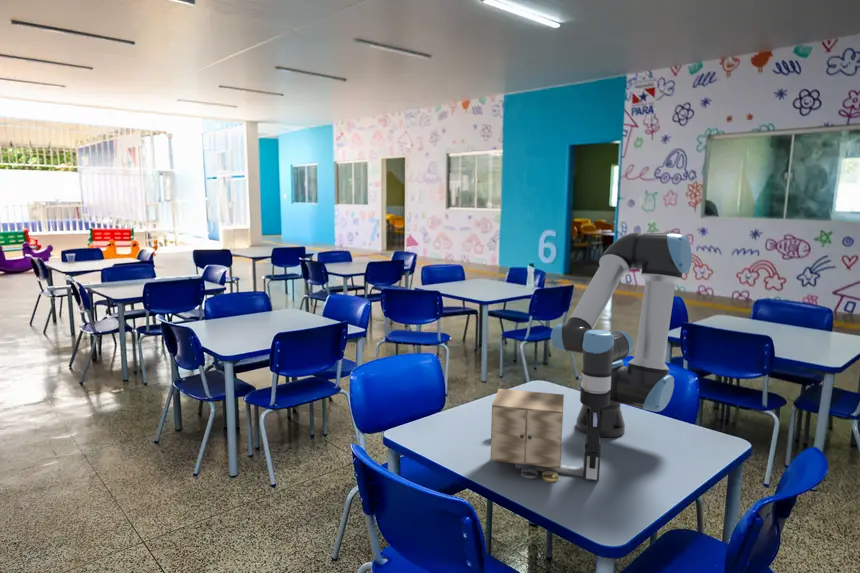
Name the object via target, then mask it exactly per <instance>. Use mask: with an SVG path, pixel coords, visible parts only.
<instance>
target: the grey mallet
mask: <svg viewBox="0 0 860 573" xmlns="http://www.w3.org/2000/svg"><path fill="white" fill-rule="evenodd" d="M583 439H584V444H583V458H582V459H583V460H582V461H583V462H582V467H581V466H574V465H573V466H572V465H565V464H561V465H560V468H555V467H547V466H539V465H530V464H522V463H516V464H515V469H521V470H523V469H533V470H535V471H537V472H538V471H539V472H545V471H551V472H555V473H557V474H563V475H570V476H571V475H572V476H580V477H582V479H583V480H589V481H596V482H598V481H600V467H601V465H600V464H601V454H602V453H601V451H602V450H601V449H602V444H601V437H599V457H598V468H597V480H594V479H586V468H587V456H586V455H585V453H588V442H589V436H587V435H584V438H583Z"/></svg>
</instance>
